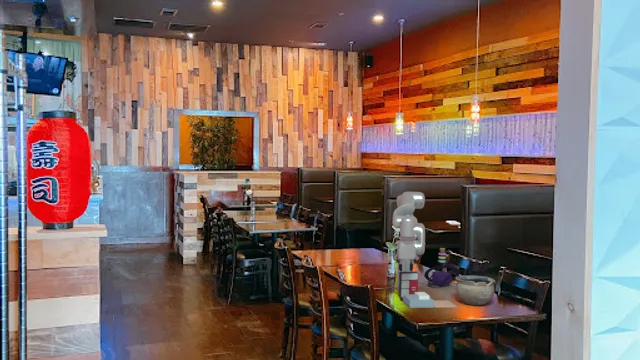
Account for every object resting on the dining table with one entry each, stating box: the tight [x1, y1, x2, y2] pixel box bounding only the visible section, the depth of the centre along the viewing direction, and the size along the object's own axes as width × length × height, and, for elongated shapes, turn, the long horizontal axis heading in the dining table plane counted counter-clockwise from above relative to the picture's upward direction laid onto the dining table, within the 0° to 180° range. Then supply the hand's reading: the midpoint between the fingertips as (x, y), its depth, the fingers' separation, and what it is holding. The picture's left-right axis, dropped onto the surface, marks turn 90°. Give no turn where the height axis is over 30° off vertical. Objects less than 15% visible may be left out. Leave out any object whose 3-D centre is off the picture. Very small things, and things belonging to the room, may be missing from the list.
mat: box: [433, 299, 458, 308], centre depth 322 cm, size 14×13×1 cm
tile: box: [414, 291, 431, 299], centre depth 321 cm, size 9×6×2 cm, turn 7°
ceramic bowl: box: [455, 275, 496, 306], centre depth 326 cm, size 22×22×15 cm
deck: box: [402, 294, 435, 309], centre depth 320 cm, size 14×14×4 cm
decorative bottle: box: [423, 247, 460, 288], centre depth 370 cm, size 22×21×25 cm
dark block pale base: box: [398, 271, 419, 299], centre depth 337 cm, size 11×4×15 cm, turn 101°
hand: (405, 270), depth 319 cm, fingers open, 5 cm apart
